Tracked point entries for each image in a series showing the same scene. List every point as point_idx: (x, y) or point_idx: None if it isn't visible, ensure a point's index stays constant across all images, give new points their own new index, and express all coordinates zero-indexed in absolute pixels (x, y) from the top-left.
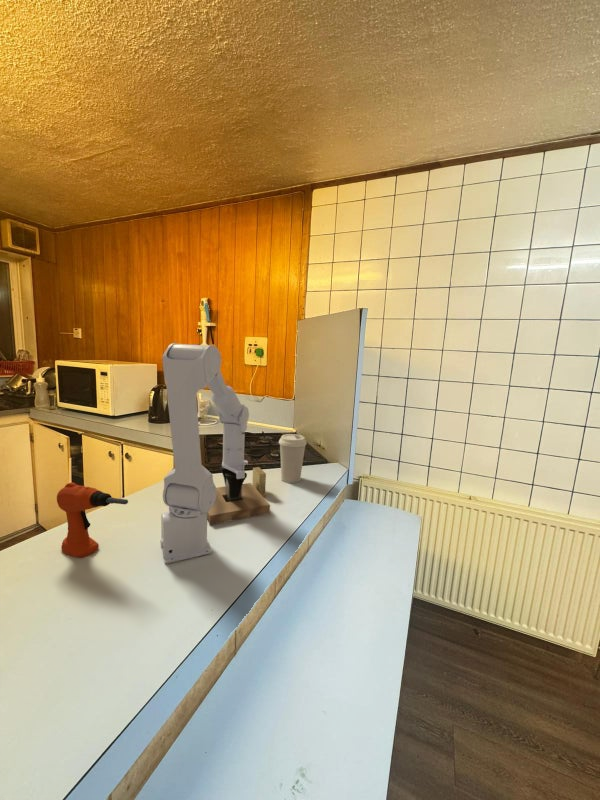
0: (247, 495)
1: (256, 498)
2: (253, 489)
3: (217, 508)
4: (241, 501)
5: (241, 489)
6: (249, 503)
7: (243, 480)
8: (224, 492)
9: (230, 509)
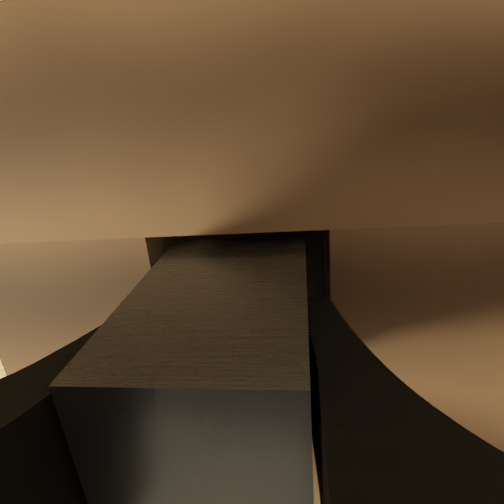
0: (240, 159)
1: (359, 68)
2: (82, 34)
3: None
4: (368, 260)
5: (306, 299)
6: (455, 192)
7: (497, 464)
8: None
9: (490, 389)
